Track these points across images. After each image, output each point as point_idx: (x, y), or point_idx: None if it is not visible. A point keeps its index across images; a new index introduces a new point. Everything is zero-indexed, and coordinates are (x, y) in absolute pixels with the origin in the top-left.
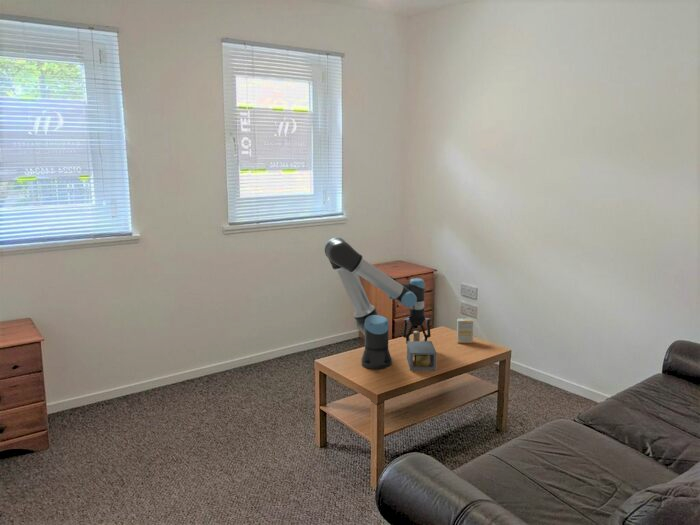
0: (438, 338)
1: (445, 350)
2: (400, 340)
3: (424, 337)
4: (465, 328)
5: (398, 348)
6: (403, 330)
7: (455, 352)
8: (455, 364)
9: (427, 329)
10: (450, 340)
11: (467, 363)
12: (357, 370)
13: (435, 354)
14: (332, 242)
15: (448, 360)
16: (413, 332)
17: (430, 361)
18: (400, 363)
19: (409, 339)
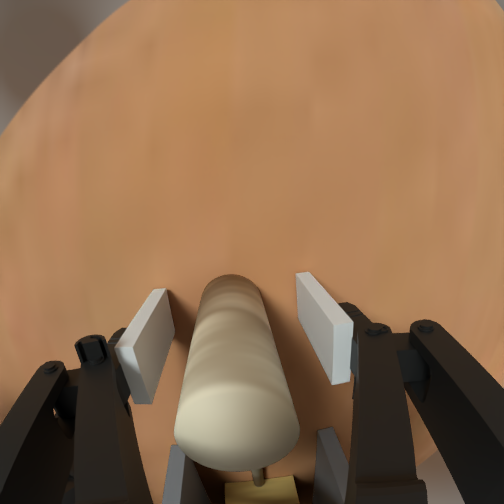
0: (418, 21)
1: (452, 280)
2: (89, 64)
3: (351, 341)
4: None
5: (75, 275)
6: (18, 425)
7: (486, 306)
8: (422, 450)
9: (444, 437)
10: (484, 78)
11: None
12: None
13: None
14: None
15: (414, 426)
16: (181, 447)
17: (316, 475)
18: (152, 486)
19: (145, 398)
